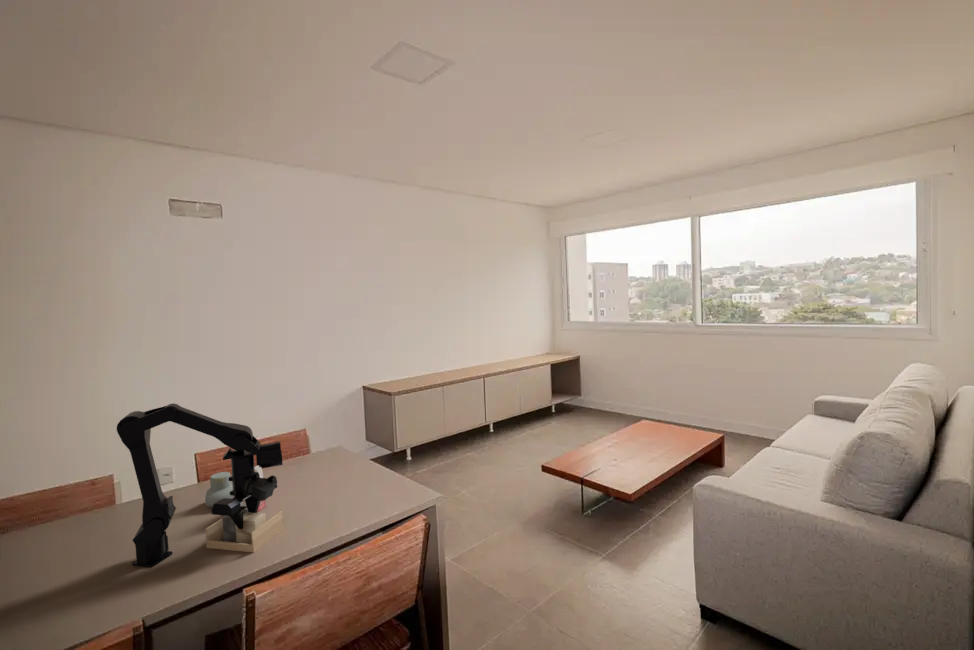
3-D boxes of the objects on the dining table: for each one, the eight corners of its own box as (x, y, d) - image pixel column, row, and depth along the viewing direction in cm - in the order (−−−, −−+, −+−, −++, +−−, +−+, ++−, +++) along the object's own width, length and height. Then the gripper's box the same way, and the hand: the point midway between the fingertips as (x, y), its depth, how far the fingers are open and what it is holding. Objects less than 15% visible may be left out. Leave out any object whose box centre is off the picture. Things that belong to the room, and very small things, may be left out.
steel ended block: (268, 534, 134) (266, 511, 134) (254, 544, 129) (253, 520, 128) (238, 531, 136) (236, 508, 136) (223, 541, 131) (222, 517, 130)
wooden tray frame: (253, 552, 125) (252, 532, 124) (206, 547, 128) (205, 528, 127) (283, 529, 137) (282, 510, 137) (239, 525, 140) (238, 507, 140)
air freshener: (233, 508, 152) (231, 478, 151) (204, 513, 149) (202, 483, 148) (238, 495, 162) (236, 467, 161) (211, 499, 159) (209, 471, 158)
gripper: (244, 486, 120) (248, 544, 121) (289, 460, 138) (292, 511, 139) (207, 484, 122) (212, 541, 123) (256, 459, 141) (259, 509, 142)
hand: (247, 524), depth 132 cm, fingers closed on steel ended block, 4 cm apart
